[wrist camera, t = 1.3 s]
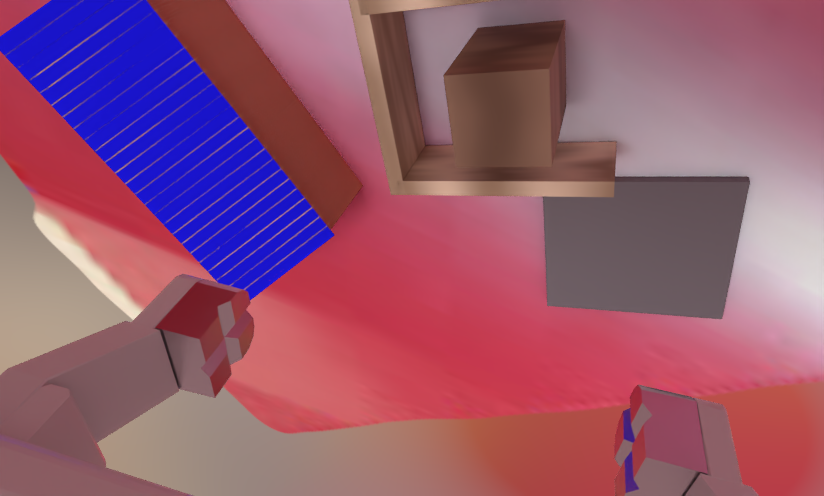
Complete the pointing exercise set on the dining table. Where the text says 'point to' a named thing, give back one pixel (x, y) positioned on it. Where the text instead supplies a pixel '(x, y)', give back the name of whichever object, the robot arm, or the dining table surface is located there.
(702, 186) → the mat
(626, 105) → the dining table surface
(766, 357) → the dining table surface
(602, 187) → the wooden open frame
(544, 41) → the block
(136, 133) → the house
